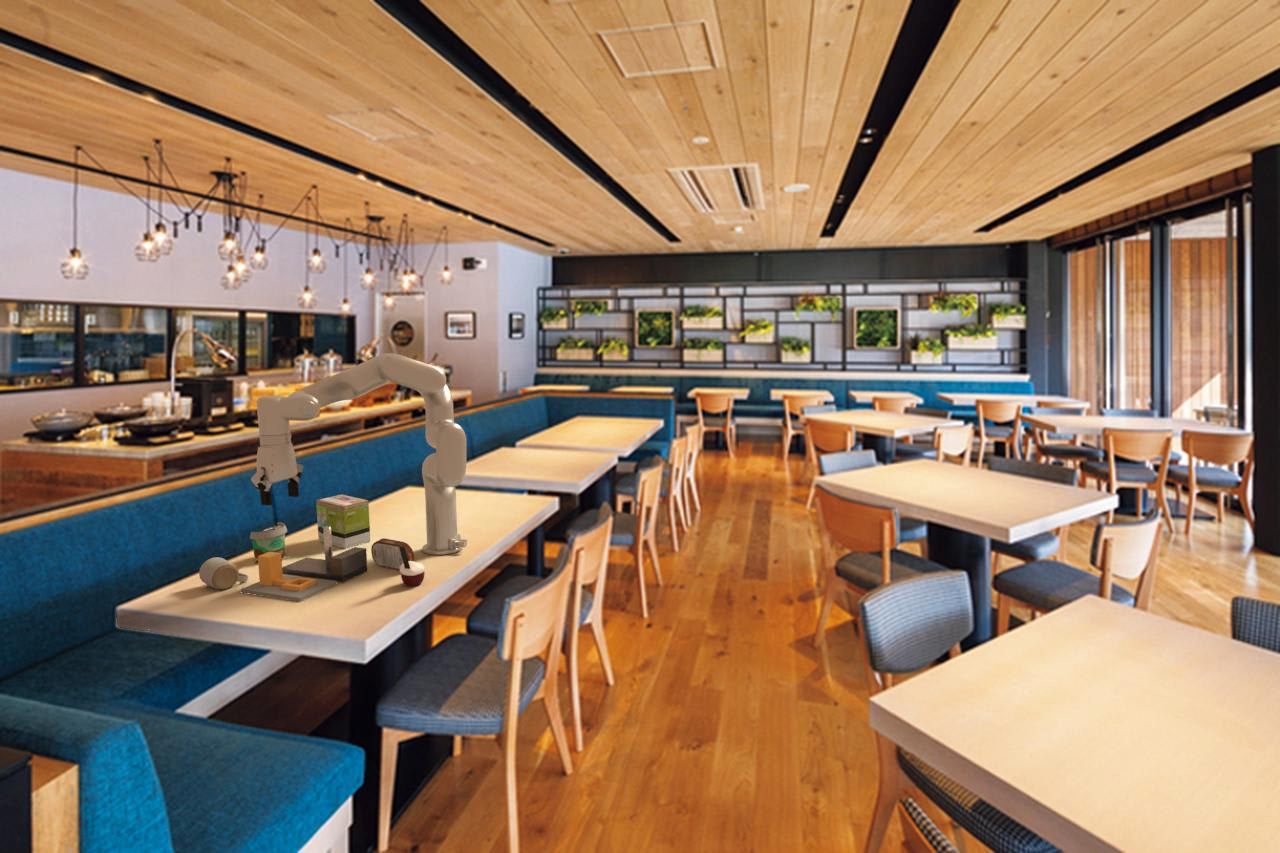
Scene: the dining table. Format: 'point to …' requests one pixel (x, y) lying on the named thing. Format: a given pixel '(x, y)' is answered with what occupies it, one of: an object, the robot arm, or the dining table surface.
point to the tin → (390, 553)
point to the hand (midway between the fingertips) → (280, 500)
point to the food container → (269, 540)
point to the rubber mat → (289, 594)
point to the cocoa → (411, 570)
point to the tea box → (344, 520)
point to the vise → (331, 563)
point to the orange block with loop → (279, 573)
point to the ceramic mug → (220, 573)
